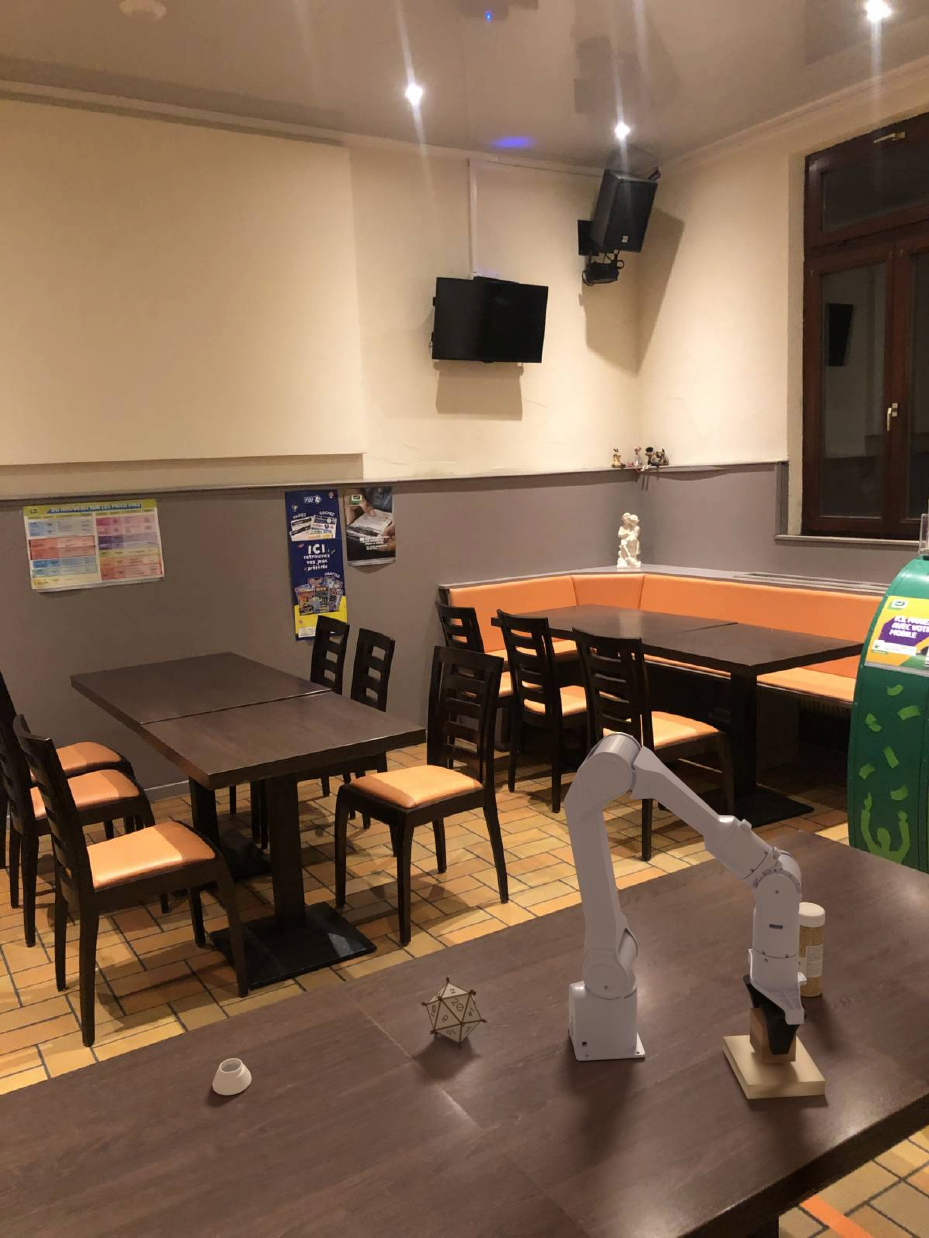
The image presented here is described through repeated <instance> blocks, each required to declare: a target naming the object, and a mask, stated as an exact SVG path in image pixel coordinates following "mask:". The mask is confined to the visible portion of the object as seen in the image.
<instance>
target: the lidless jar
mask: <svg viewBox="0 0 929 1238" xmlns="http://www.w3.org/2000/svg"><path fill="white" fill-rule="evenodd" d="M251 1082H252V1074H251V1072H250V1070H249V1069H248V1068H247V1066H246V1065H245V1063H243V1061H242V1060H241V1059H239V1058H232V1057H231V1058H228V1059H225V1060H223V1061H222V1062H221V1063H220V1064H219V1066H218V1069H217V1071H216V1073H215V1075H214V1077H213V1081H212V1084H211V1085H212V1089H213V1091H214V1092H216V1093H217V1095H222V1096H231V1095H236V1094H238V1093H241V1092H242V1091H245V1090H247V1088H248V1087H249V1085H250V1084H251Z"/></svg>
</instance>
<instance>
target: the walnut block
mask: <svg viewBox="0 0 929 1238" xmlns="http://www.w3.org/2000/svg"><path fill="white" fill-rule="evenodd" d="M749 1014H750V1015H749V1035H750V1044H751V1045H752V1047H753V1049H754V1051H755V1053H756V1054H757V1056H758V1058H759V1060H760V1062H761V1064H762V1063H779V1062H796V1036H797V1032H796V1033H795V1035H794V1038H793V1041H792V1044H791V1047H790V1050H789V1053H788V1054H784V1055H773V1054H772V1052H771V1049H770V1045H769V1038H768V1030H767V1024H766V1021H765V1018H764V1015H763V1013H762V1011H761V1009H760V1008H753V1007H751V1008H750V1013H749Z"/></svg>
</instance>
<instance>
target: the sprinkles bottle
mask: <svg viewBox="0 0 929 1238" xmlns="http://www.w3.org/2000/svg"><path fill="white" fill-rule="evenodd" d="M799 916H800V932H799V959H798V972H800V973H802V974H803V975H804V976H805V978H806V979H807V984H806V985H801V986H800V997H805V998H806V997H808V998H811V997H814V998H815V997H817V996H820V995H821V993H822V973H823V959H824V958H823V957H824V955H823V954H824V925H825V922H826V910H825V909H824V908H823V907H822V906H820V905H819V904H816V903H811V902H804V901H802V902H800V906H799Z"/></svg>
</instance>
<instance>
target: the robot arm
mask: <svg viewBox="0 0 929 1238" xmlns="http://www.w3.org/2000/svg"><path fill="white" fill-rule="evenodd" d="M628 791H631V793H630V796H629V799H630V800H644V799H654V800H656V801H657V802H658V803H659V804H661V805H662V806H664V807H665V808H667V809H668V810H669V811H670V812H671V813H673V814H674V815H675V816H676V817H678V818H679V819H681V820H682V821H683V822H684V823H686V824H687V825H688V826H690V827H691V828H692V829H694V830H695V831H696V832H698V834H700V835H702V838H703V843H704V849H705V851H707V852H708V853H709V854H710V855H711V856H712V857H714V858H715V859H716V860H718V862H720V863H721V864H722V865H723V866H724V867H726V868H727V869H728V870H729V871H730V872H731V873H733V874H734V875H735V876H736V877H737V878H739V880H741V881H743V882H744V883H745V884H747V885H748V886H750V887H751V891H752V892H751V894H752V896H753V899H754V900H755V907H754V909H753V913H752V914H753V918H752V948H749V949H748V948H747V949H748V950H747V951H748V952H747V954H748V955H747V963H748V964H749V965H750V967H749V968H750V971H749V974H745V975H744V976H743V977H742V981H743V983H744V985H745V987H746V988H747V991H748V995H749V997H750V1000H751V1005H752V1008H760V1009H761V1011H762V1013H763V1015H764V1018H765V1021H766V1024H767V1030H768V1038H769V1045H770V1049H771V1052H772V1054H773V1055H784V1054H788V1053H789V1050H790V1047H791V1044H792V1041H793V1038H794V1035H795V1033H796V1034H797V1031H798V1029H799V1027H800V1026H801V1025H803V1024H804V1022H805V1020H806V1019H807V1018H808V1010H807V1008H806V1006H805V1005H804V1004H803V1003H802V1001H801V995H800V986H801V985H806V984H807V979H806V978H805V976H804V975H803V974H802V973H800V972H798V959H799V932H800V916H799V906H800V903H802V899H803V893H802V873H801V872H802V871H801V869H800V868H801V867H800V865H799V862H798V861H797V860H796V859H795V858H794V857H793V855H792V854H791V853H790V852H788V851H786V850H783V849H779V848H778V847H777V846H773V847H772V846H771V845H769V843H767V842H766V841H765V840H764V839H762V838H761V837H760V836H758V834H756V833H755V832H754V831H753V830H752V824H751V823H750V822H749V821H747V820H746V819H745V818H744V819H742V820H741V821H740V820H739V819H738V817H736V816H734V815H721V814H719V813H717V812H716V811H715V810H714V809H713V808H711V807H710V806H709V804H708V803H706V802H705V801H704V800H703V799H702V798H701V797H699V796H698V794H696V793H695V792H694V791H693V790H692V789H691V788H690V787H689V786H687V785H686V783H685V782H683V781H682V780H681V779H680V778H679V777H678V776H677V775H676V774H674V772H673V771H671V770H670V769H669V768H668V767H667V766H666V765H665V764H664V763H663V762H662V761H661V759H659V758H658V757H657V756H656V755H655V753H654V752H653V751H652V750H651V749H649V748H648V747H647V746H645V745H642V747H641V744H640V743H639V742H638V740H637V739H636V738H635V737H633V736H632V735H631V734H628V733H626V732H625V733H624V732H622V731H621V732H620V731H619V732H618V731H617V732H611V733H608V734H607V735H605V736H603V738H602V739H601V740H599V741H598V743H597V744H595V745H594V746H593V748H591V749H590V751H589V752H588V754H587V756H586V758H585V759H584V761H582V763H581V765H580V766H579V767H578V769H577V772H576V774H575V776H574V778H573V780H572V782H571V784H570V786H569V789H568V791H567V793H566V795H565V797H564V800H563V808H564V814H565V819H566V824H567V831H568V836H569V842H570V847H571V852H572V858H573V863H574V868H575V873H576V878H577V879H576V880H577V885H578V888H579V889H578V890H579V895H580V900H581V904H582V912H583V915H584V923H585V931H584V944H583V951H584V958H585V959H584V963H583V966H582V970H581V977H582V980H581V981H577V982H574V983H569V985H568V1033H569V1037H570V1040H571V1043H572V1046H573V1051H574V1055H575V1059H576V1060H577V1061H581V1062H582V1061H583V1062H584V1061H598V1060H599V1061H601V1060H617V1059H620V1060H621V1059H631V1058H632V1059H637V1058H644V1057H645V1056H646V1051H645V1049H644V1046H643V1044H642V1041H641V1038H640V1035H639V1033H638V980H637V977H636V975H635V973H634V971H633V967H634V966H633V965H634V963H635V961H636V959H637V956H638V954H639V943H638V939H637V938H636V936H635V935H634V933H633V932H632V930H631V929H630V927H629V924H628V918H627V917H626V915H625V914H623V912H622V909H621V904H620V903H621V902H620V899H619V893H618V886H617V882H616V877H615V870H614V865H613V860H612V853H611V848H610V844H609V842H610V841H609V838H608V837H609V836H608V832H607V826H606V821H605V816H604V811H603V810H604V808H605V807H606V806H607V805H608V803H609V802H611V801H613V800H616V799H618V798H620V797H622V796H623V795H624V794H626V793H627V792H628Z"/></svg>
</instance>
